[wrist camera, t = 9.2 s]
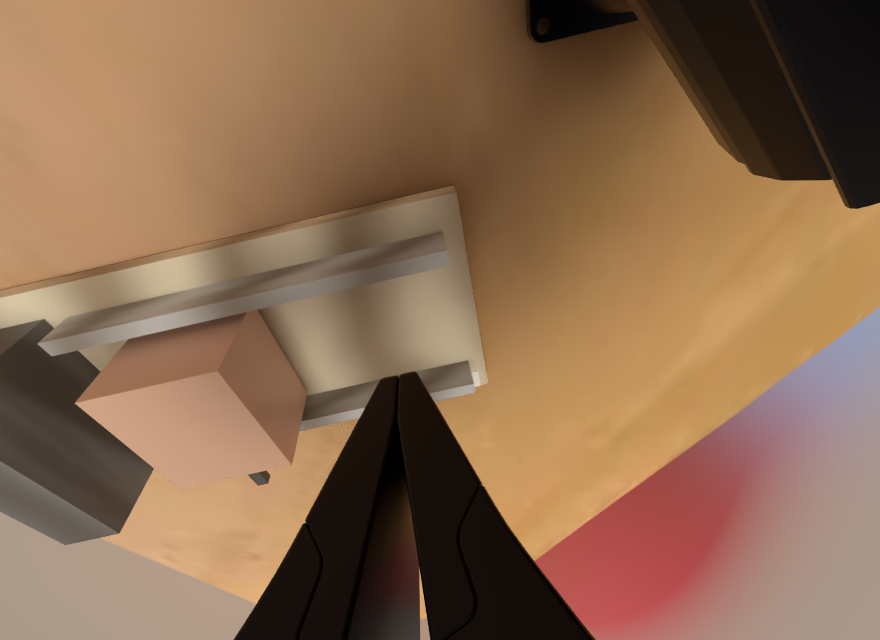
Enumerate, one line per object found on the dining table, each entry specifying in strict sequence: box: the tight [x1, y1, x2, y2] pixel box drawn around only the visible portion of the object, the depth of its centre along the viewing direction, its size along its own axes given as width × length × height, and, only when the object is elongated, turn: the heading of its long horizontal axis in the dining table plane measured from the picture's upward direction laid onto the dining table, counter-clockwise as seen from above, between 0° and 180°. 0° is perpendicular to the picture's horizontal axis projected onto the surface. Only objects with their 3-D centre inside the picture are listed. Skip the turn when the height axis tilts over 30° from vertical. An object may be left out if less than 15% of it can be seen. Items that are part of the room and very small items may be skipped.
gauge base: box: [0, 185, 488, 545], centre depth 19 cm, size 24×13×7 cm, turn 101°
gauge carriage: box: [75, 310, 307, 489], centre depth 20 cm, size 6×10×5 cm, turn 11°
